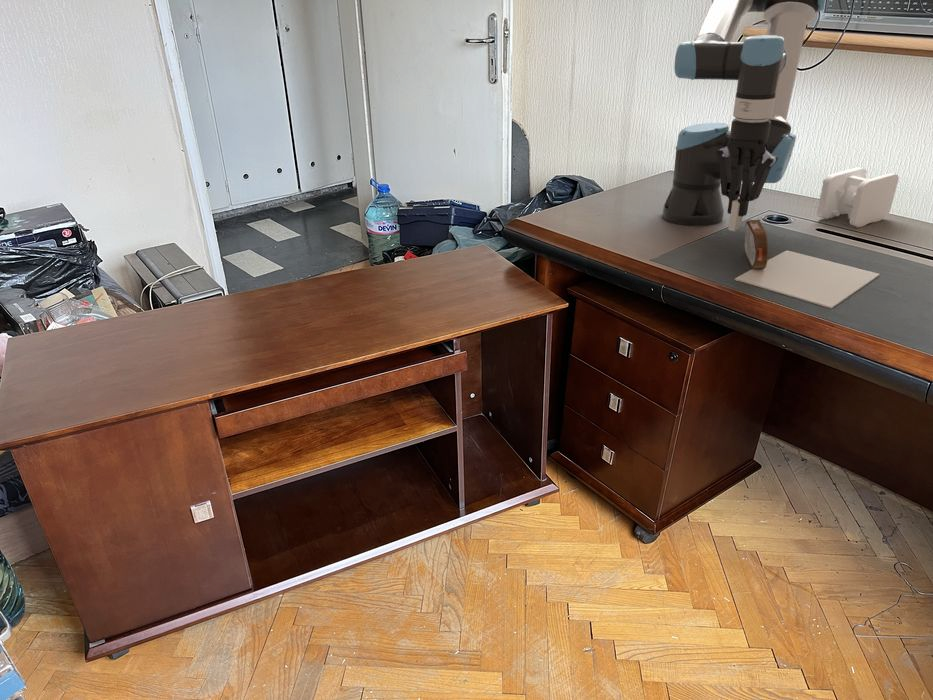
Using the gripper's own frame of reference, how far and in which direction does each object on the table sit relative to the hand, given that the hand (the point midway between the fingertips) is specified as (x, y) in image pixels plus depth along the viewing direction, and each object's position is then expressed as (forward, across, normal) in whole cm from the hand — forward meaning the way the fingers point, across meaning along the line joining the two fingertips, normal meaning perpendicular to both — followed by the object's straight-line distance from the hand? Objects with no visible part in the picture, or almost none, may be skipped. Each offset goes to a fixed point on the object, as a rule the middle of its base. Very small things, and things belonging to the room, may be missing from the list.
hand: (734, 228), depth 151 cm
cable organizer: (+7, +8, +42) cm, 43 cm away
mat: (+7, +18, 0) cm, 19 cm away
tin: (+7, +6, 0) cm, 9 cm away
